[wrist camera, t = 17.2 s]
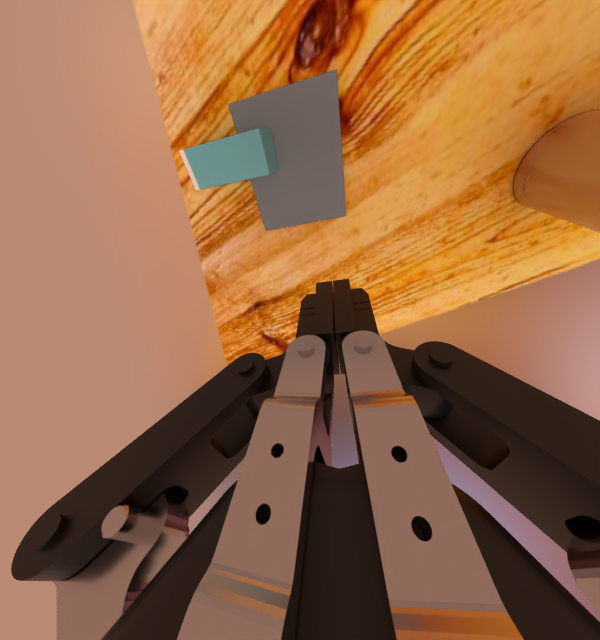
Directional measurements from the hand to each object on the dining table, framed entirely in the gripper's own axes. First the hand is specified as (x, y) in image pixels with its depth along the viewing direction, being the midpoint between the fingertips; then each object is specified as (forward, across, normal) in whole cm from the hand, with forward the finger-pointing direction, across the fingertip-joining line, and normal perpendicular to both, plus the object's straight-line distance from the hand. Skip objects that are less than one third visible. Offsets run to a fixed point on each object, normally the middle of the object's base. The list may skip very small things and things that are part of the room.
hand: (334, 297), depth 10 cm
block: (+22, +6, -6) cm, 24 cm away
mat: (+25, +4, -4) cm, 26 cm away
